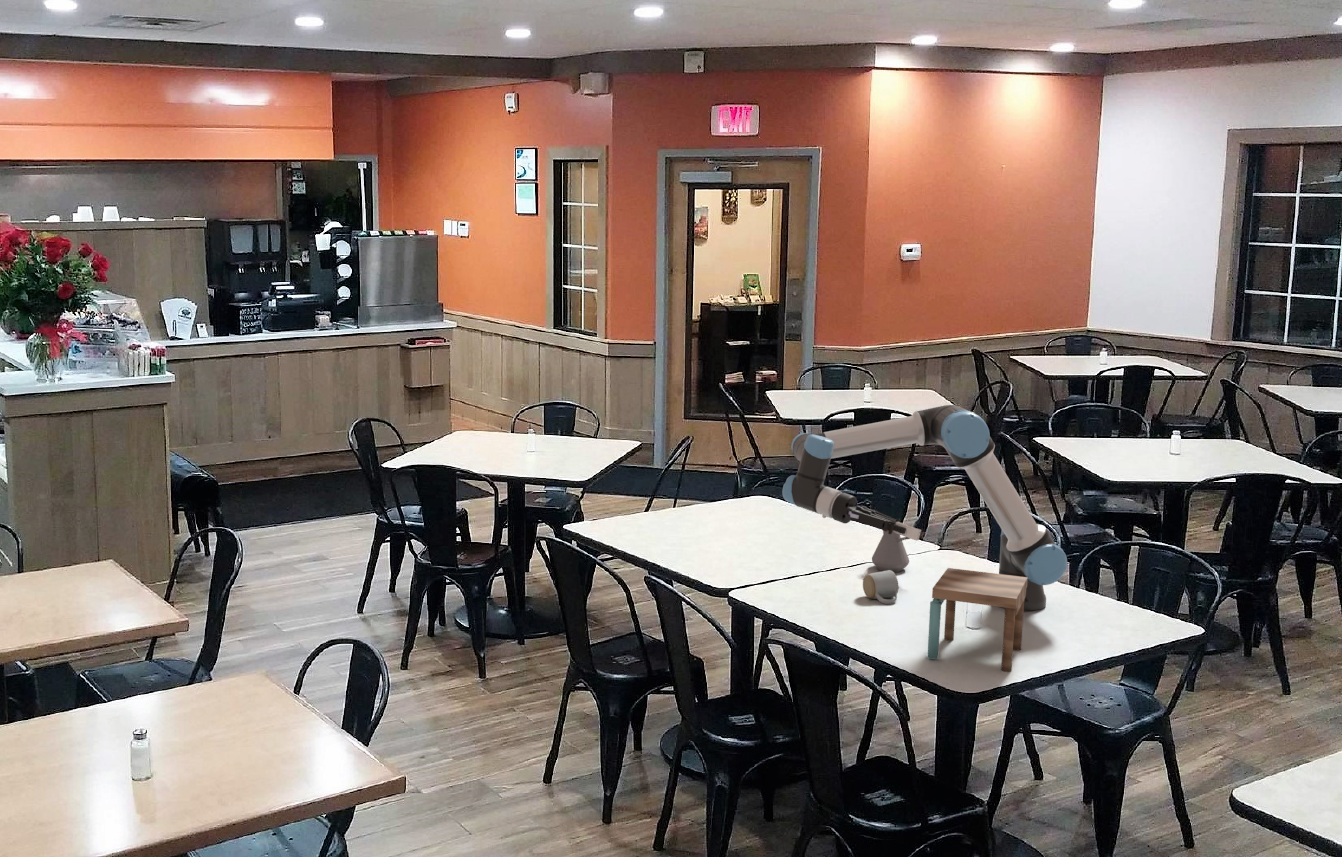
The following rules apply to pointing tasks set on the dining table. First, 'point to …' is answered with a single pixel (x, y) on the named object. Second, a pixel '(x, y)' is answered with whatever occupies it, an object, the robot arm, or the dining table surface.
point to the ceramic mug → (881, 586)
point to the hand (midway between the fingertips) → (918, 535)
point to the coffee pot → (891, 552)
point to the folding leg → (934, 628)
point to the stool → (985, 602)
